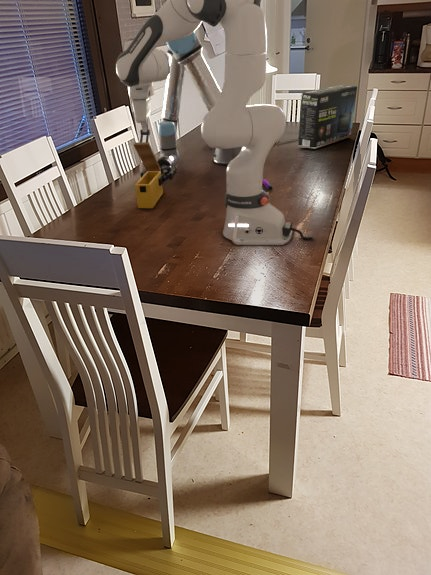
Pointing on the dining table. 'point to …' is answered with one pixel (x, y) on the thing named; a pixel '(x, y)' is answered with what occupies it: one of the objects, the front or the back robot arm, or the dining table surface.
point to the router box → (326, 115)
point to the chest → (148, 189)
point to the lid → (146, 153)
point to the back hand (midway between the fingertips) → (151, 182)
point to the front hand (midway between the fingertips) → (145, 130)
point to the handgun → (267, 184)
